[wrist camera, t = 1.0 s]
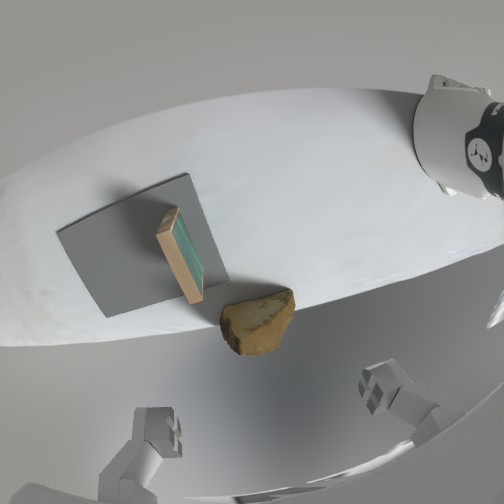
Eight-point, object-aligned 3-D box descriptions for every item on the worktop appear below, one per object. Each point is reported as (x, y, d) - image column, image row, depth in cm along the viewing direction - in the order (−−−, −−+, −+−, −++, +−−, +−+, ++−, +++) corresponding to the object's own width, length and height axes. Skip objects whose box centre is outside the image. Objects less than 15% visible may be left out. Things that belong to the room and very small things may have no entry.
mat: (189, 173, 28) (188, 174, 28) (229, 278, 34) (229, 280, 34) (58, 232, 28) (56, 233, 28) (107, 316, 34) (106, 317, 34)
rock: (310, 279, 34) (233, 278, 30) (321, 347, 30) (240, 355, 27) (276, 304, 43) (214, 304, 39) (283, 357, 39) (218, 362, 36)
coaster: (179, 206, 29) (170, 229, 23) (204, 266, 33) (203, 300, 26) (167, 210, 29) (155, 235, 23) (192, 269, 33) (189, 304, 26)
